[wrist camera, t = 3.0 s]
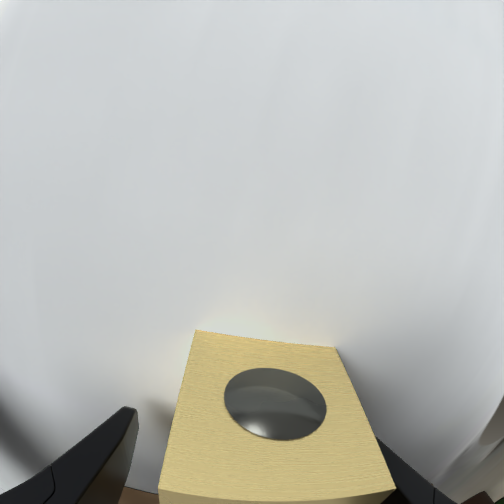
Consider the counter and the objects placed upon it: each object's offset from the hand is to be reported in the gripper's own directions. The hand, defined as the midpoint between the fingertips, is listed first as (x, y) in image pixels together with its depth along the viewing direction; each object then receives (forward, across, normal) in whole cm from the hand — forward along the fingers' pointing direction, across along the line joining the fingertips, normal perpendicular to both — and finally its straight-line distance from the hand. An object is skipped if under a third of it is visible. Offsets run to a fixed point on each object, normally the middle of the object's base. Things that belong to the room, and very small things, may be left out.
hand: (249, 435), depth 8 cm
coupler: (+1, 0, 0) cm, 1 cm away
